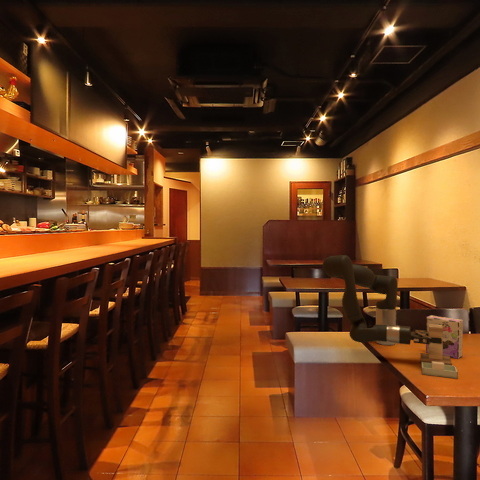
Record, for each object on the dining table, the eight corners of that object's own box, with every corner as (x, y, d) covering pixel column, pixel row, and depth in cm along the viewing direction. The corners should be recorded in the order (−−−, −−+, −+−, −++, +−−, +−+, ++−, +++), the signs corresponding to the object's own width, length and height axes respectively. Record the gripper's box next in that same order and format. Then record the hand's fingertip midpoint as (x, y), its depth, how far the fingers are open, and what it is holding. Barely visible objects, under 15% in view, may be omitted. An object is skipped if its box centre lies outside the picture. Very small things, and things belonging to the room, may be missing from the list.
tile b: (432, 361, 154) (432, 363, 152) (443, 362, 153) (444, 364, 150) (431, 371, 154) (432, 373, 152) (443, 372, 153) (444, 375, 151)
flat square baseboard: (420, 360, 170) (420, 353, 170) (449, 363, 166) (449, 356, 166) (421, 367, 160) (421, 360, 160) (452, 371, 156) (452, 364, 156)
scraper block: (428, 354, 168) (428, 324, 168) (441, 356, 166) (441, 325, 166) (428, 358, 163) (429, 326, 163) (442, 359, 161) (442, 327, 161)
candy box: (425, 352, 182) (425, 316, 181) (430, 350, 186) (430, 314, 185) (458, 359, 172) (458, 321, 171) (462, 356, 176) (463, 319, 176)
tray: (421, 368, 160) (421, 362, 160) (455, 372, 155) (455, 365, 155) (422, 374, 153) (422, 367, 153) (457, 378, 148) (457, 372, 148)
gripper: (398, 329, 163) (442, 333, 157) (398, 322, 177) (439, 325, 170) (398, 347, 163) (442, 352, 157) (398, 339, 177) (439, 343, 170)
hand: (440, 338), depth 164 cm, fingers open, 8 cm apart
